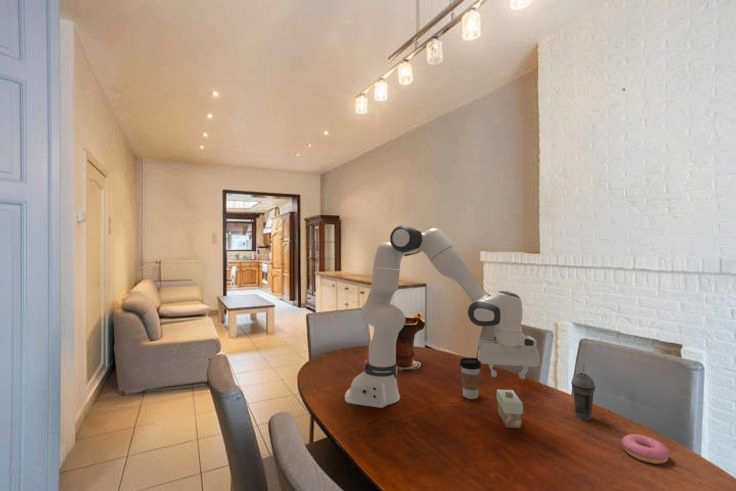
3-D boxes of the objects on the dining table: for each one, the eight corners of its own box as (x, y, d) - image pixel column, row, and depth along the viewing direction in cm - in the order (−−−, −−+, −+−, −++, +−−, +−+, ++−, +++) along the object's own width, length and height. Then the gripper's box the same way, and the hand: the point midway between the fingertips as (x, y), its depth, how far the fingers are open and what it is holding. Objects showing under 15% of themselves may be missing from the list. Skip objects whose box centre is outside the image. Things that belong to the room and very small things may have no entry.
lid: (505, 413, 116) (504, 399, 116) (496, 399, 127) (496, 386, 127) (522, 414, 115) (522, 400, 115) (512, 399, 126) (512, 387, 126)
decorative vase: (430, 371, 168) (427, 314, 169) (384, 373, 169) (380, 316, 169) (424, 357, 189) (421, 307, 189) (382, 359, 189) (379, 309, 190)
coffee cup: (482, 401, 136) (482, 363, 136) (460, 399, 138) (460, 362, 138) (479, 392, 144) (479, 356, 144) (459, 390, 146) (458, 355, 146)
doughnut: (679, 463, 97) (679, 449, 97) (648, 469, 94) (648, 454, 94) (641, 442, 107) (641, 429, 107) (612, 446, 105) (612, 433, 105)
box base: (506, 427, 116) (505, 412, 116) (498, 413, 126) (498, 399, 126) (521, 428, 116) (521, 413, 116) (512, 413, 126) (512, 400, 126)
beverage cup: (592, 414, 125) (591, 359, 125) (598, 423, 118) (597, 365, 118) (569, 411, 127) (569, 357, 128) (574, 420, 121) (573, 363, 121)
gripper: (479, 338, 119) (478, 378, 119) (541, 341, 116) (541, 382, 116) (476, 334, 125) (475, 372, 125) (535, 337, 122) (534, 376, 122)
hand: (507, 377), depth 120 cm, fingers open, 8 cm apart
